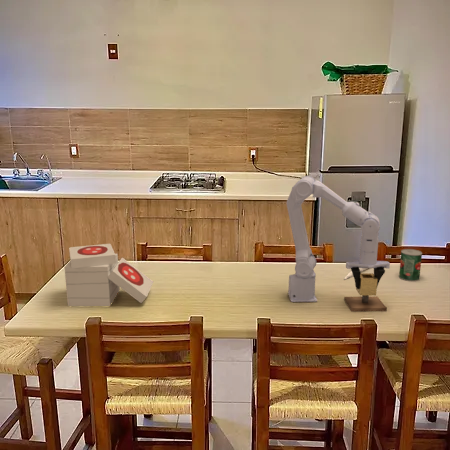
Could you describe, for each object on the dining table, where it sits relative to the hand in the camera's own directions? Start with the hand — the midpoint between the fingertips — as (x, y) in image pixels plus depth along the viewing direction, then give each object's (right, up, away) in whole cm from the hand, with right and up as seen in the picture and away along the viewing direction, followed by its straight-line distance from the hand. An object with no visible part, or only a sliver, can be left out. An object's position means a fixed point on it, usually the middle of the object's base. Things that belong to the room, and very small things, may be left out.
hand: (366, 287), depth 169 cm
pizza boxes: (-91, -5, +8) cm, 92 cm away
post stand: (0, -6, +2) cm, 7 cm away
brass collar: (0, -2, 0) cm, 2 cm away
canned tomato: (+26, 0, +28) cm, 38 cm away
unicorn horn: (+7, +2, +35) cm, 36 cm away
